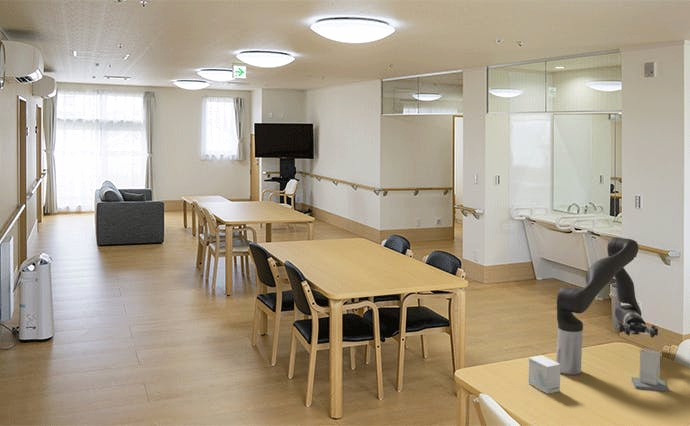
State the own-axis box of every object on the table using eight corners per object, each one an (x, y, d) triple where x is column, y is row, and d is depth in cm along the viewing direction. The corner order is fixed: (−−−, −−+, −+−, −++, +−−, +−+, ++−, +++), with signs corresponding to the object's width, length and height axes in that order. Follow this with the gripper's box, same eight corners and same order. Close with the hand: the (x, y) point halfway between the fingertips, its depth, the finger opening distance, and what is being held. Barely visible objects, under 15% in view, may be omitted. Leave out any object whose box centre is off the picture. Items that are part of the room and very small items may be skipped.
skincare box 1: (527, 384, 241) (528, 357, 239) (541, 381, 243) (542, 354, 242) (546, 394, 231) (547, 366, 230) (560, 391, 233) (561, 363, 232)
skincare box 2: (659, 382, 239) (661, 351, 237) (655, 386, 235) (657, 354, 234) (642, 378, 243) (644, 347, 241) (638, 382, 240) (639, 350, 238)
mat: (635, 388, 236) (635, 385, 236) (631, 379, 245) (631, 376, 245) (668, 391, 233) (668, 388, 233) (663, 382, 242) (663, 379, 242)
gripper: (616, 312, 269) (621, 323, 254) (653, 315, 266) (661, 326, 250) (615, 330, 270) (620, 341, 255) (652, 333, 266) (659, 345, 251)
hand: (640, 334), depth 252 cm, fingers open, 8 cm apart
